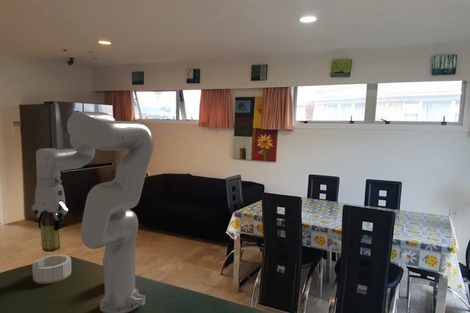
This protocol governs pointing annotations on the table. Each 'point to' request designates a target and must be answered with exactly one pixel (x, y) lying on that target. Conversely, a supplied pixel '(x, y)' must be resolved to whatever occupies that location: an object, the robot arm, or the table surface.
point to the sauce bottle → (49, 233)
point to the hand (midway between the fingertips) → (50, 228)
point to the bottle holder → (51, 269)
